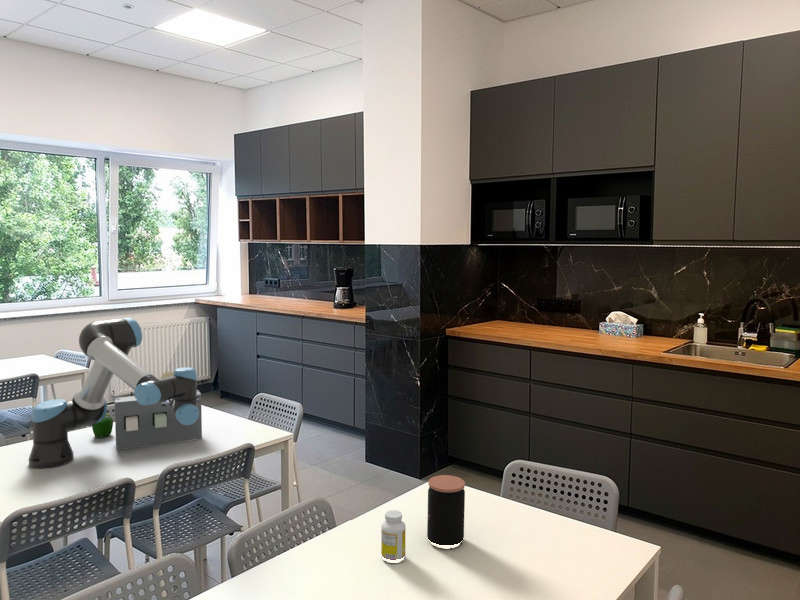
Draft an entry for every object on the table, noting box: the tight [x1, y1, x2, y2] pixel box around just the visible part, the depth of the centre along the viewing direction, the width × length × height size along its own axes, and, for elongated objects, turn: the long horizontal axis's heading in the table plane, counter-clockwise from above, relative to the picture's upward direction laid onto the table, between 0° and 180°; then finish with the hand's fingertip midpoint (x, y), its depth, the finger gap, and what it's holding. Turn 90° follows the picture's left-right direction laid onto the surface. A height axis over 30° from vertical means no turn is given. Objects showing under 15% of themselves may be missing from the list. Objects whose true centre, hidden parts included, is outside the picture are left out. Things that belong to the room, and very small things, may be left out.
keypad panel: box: [113, 389, 203, 451], centre depth 257 cm, size 34×8×20 cm, turn 117°
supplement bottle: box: [380, 509, 406, 560], centre depth 164 cm, size 7×7×13 cm
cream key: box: [125, 415, 138, 431], centre depth 247 cm, size 4×7×4 cm, turn 27°
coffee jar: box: [426, 474, 466, 545], centre depth 174 cm, size 11×11×18 cm
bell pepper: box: [91, 413, 114, 438], centre depth 264 cm, size 8×8×10 cm
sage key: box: [154, 412, 167, 428], centre depth 252 cm, size 4×7×4 cm, turn 27°
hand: (175, 391), depth 241 cm, fingers open, 5 cm apart
